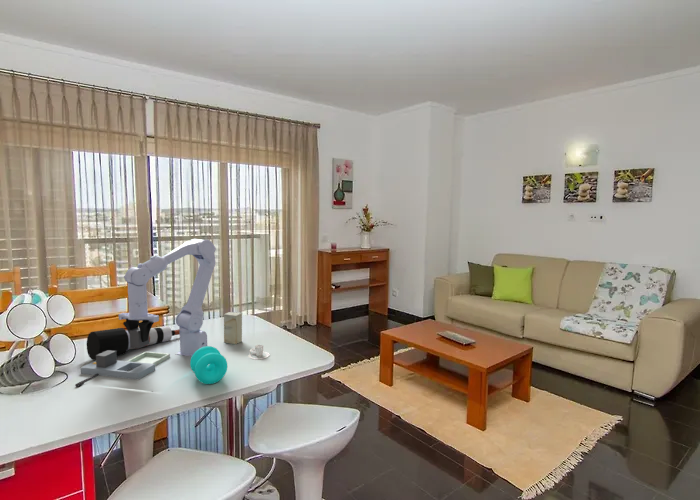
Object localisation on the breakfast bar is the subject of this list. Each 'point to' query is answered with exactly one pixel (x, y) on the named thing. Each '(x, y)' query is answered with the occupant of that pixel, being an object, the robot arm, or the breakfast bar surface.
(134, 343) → the plug
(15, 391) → the breakfast bar surface
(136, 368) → the power strip
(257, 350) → the teacup and saucer
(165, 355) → the tray
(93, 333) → the black white cylindrical piece
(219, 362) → the teal spool
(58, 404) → the breakfast bar surface
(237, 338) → the skincare box
